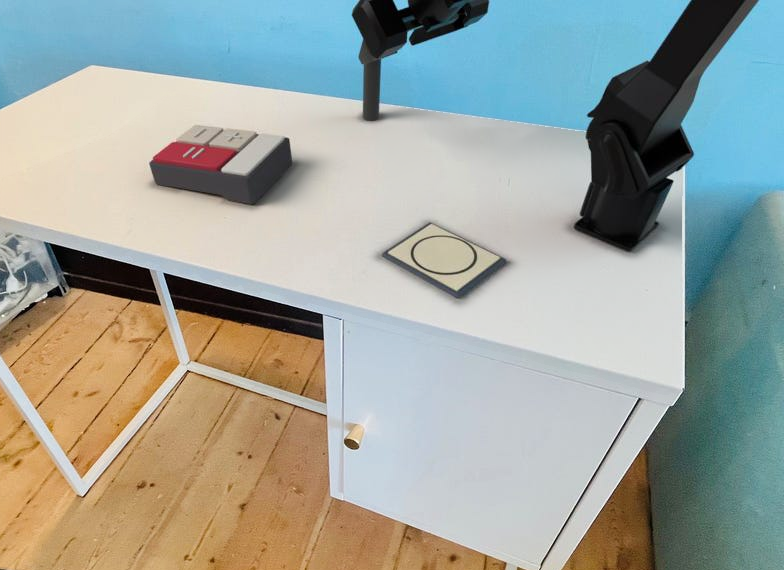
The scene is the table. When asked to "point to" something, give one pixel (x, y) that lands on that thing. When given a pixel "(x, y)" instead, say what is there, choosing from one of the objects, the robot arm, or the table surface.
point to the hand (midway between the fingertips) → (386, 51)
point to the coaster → (444, 259)
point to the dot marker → (371, 90)
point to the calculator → (223, 162)
